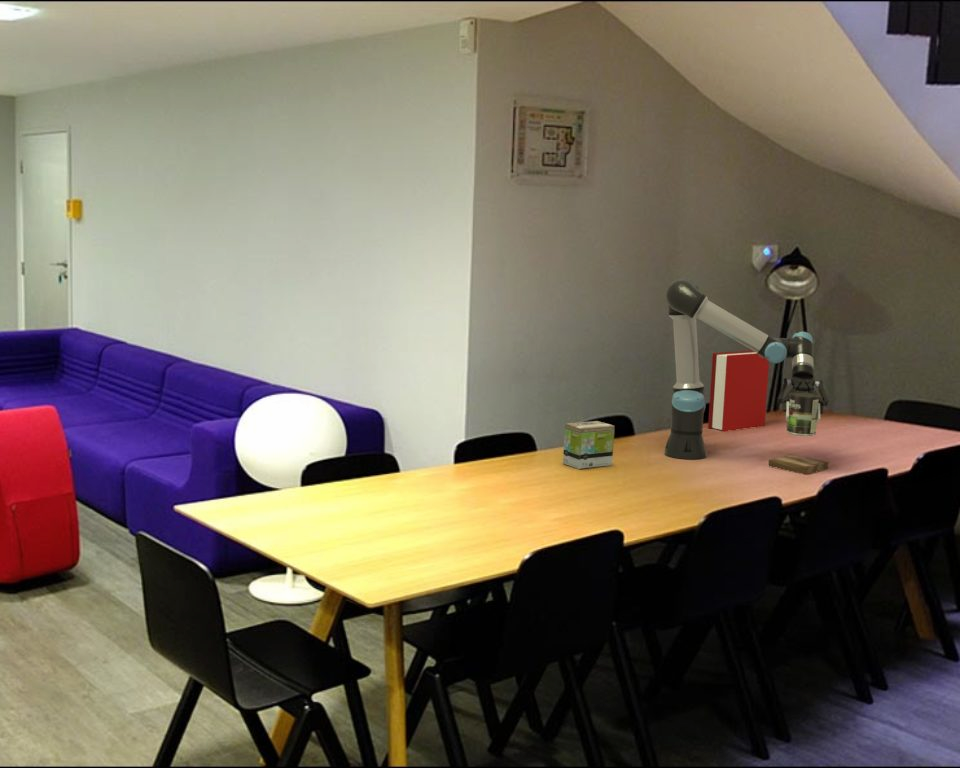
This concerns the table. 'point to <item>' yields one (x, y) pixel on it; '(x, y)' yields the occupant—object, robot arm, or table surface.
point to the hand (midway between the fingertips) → (803, 419)
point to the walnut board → (798, 464)
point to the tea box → (588, 444)
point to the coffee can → (802, 413)
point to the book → (738, 390)
